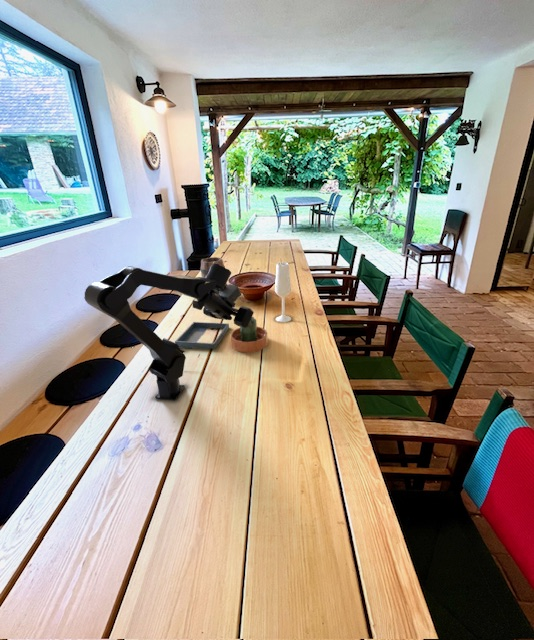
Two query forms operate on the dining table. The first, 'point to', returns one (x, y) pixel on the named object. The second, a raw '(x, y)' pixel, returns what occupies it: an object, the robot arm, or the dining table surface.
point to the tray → (195, 333)
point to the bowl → (249, 346)
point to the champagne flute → (283, 287)
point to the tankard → (207, 265)
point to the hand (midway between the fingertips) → (240, 321)
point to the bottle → (249, 332)
